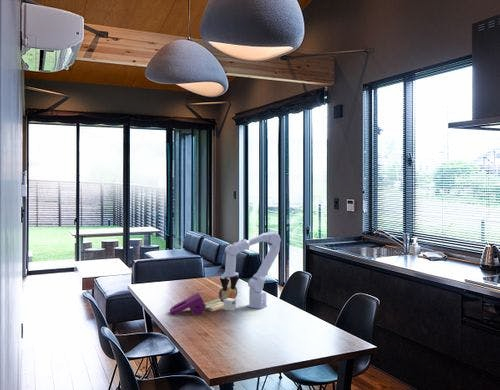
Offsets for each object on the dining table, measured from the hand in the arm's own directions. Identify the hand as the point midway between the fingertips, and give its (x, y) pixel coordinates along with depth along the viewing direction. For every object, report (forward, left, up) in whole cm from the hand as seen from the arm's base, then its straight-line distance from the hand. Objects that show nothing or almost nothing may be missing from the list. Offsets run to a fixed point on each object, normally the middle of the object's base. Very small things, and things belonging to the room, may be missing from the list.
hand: (228, 290), depth 260 cm
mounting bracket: (+14, +19, -11) cm, 26 cm away
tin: (+11, -15, -11) cm, 22 cm away
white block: (-1, 0, -11) cm, 11 cm away
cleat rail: (+7, +2, -11) cm, 13 cm away
